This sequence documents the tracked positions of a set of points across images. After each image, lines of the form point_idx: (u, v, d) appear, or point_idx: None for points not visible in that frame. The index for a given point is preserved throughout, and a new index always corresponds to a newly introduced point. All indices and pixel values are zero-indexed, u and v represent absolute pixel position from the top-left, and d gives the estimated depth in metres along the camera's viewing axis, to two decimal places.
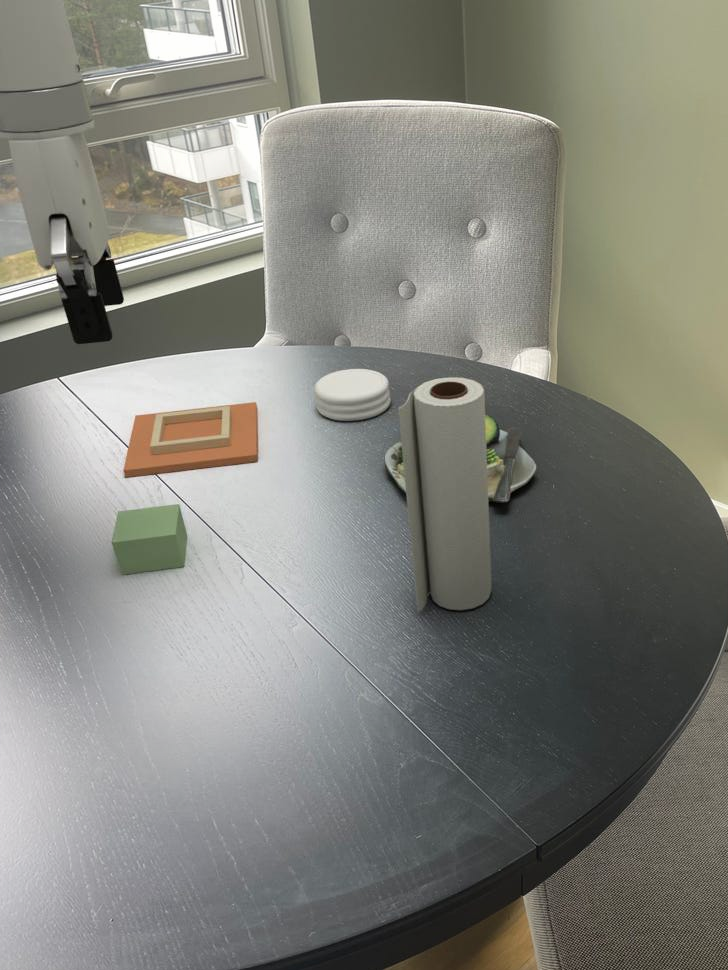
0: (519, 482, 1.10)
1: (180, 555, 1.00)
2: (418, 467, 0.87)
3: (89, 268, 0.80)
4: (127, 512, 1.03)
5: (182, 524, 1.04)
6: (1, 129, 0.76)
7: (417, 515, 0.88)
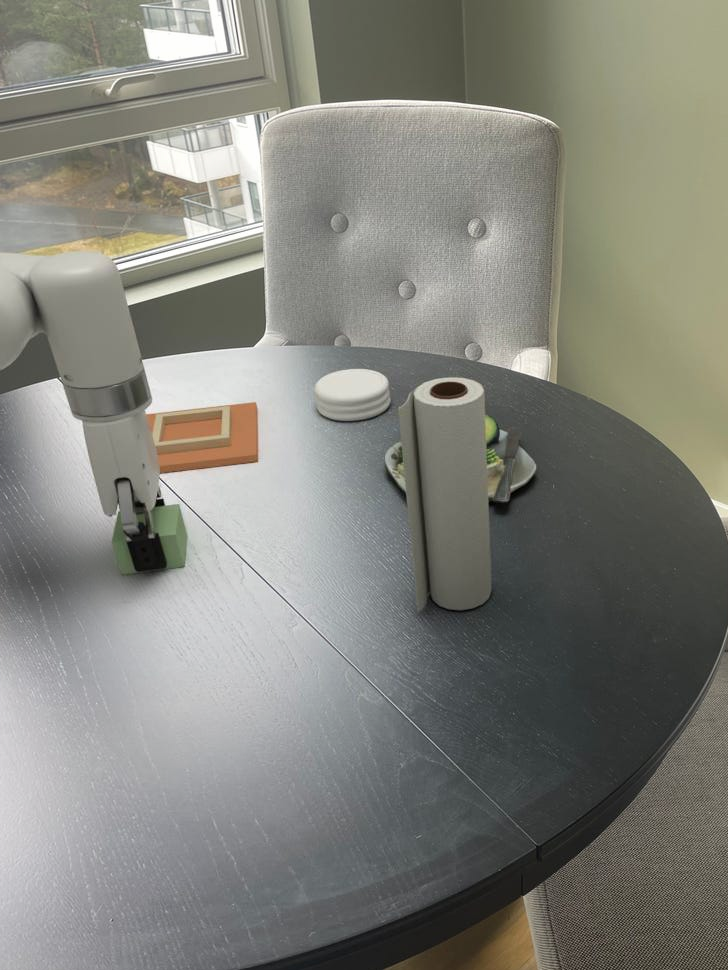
0: (519, 482, 1.10)
1: (180, 555, 1.00)
2: (418, 467, 0.87)
3: (149, 518, 0.96)
4: None
5: (182, 524, 1.04)
6: (76, 412, 0.90)
7: (417, 515, 0.88)
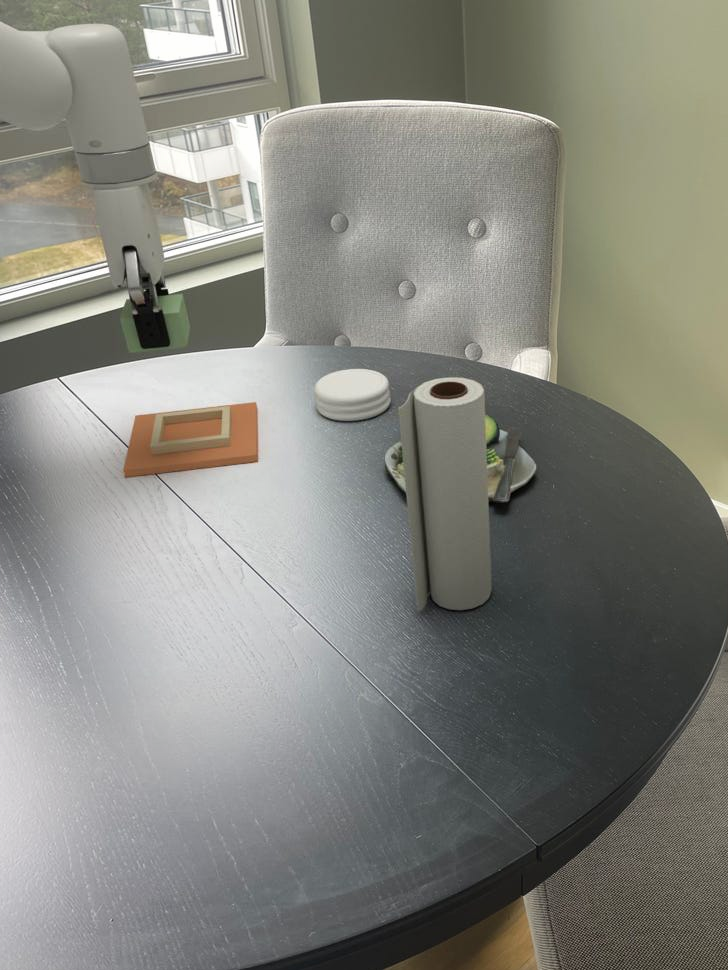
0: (519, 482, 1.10)
1: (183, 335, 1.09)
2: (418, 467, 0.87)
3: (153, 291, 1.04)
4: None
5: (185, 313, 1.12)
6: (87, 181, 0.98)
7: (417, 515, 0.88)
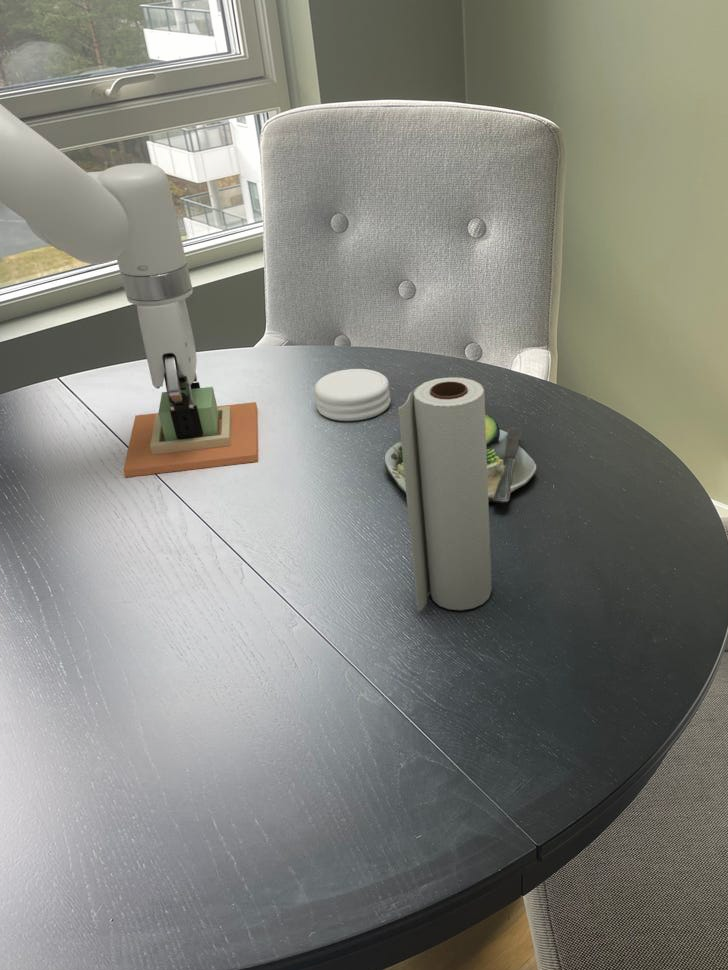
0: (519, 482, 1.10)
1: (214, 426, 1.21)
2: (418, 467, 0.87)
3: (189, 390, 1.17)
4: None
5: (215, 404, 1.24)
6: (132, 298, 1.11)
7: (417, 515, 0.88)
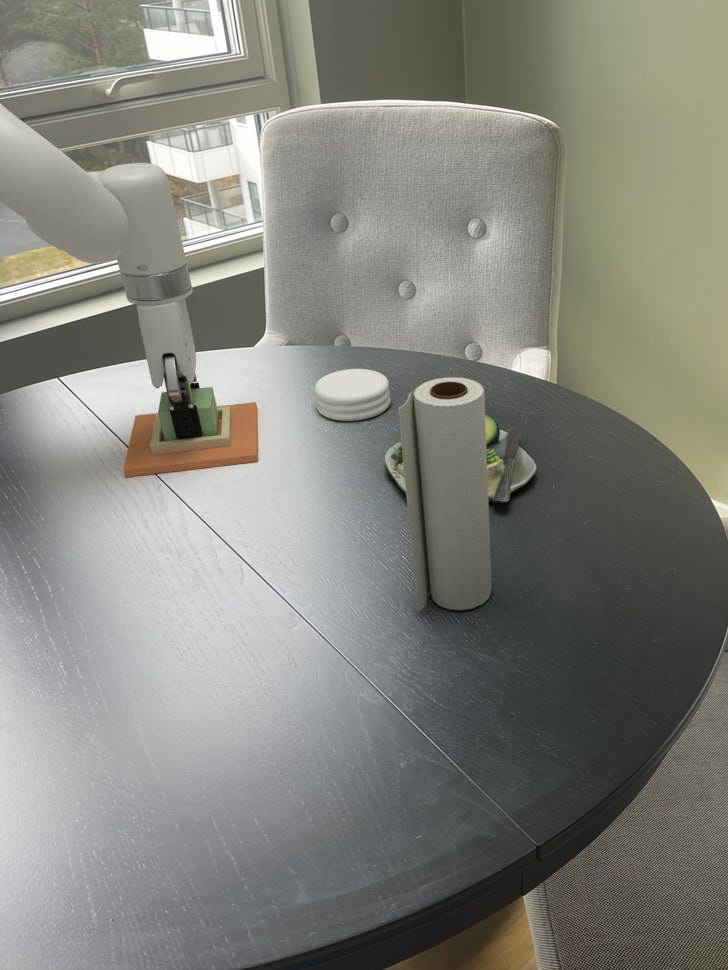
0: (519, 482, 1.10)
1: (214, 426, 1.21)
2: (418, 467, 0.87)
3: (189, 390, 1.17)
4: None
5: (215, 404, 1.24)
6: (131, 297, 1.11)
7: (417, 515, 0.88)
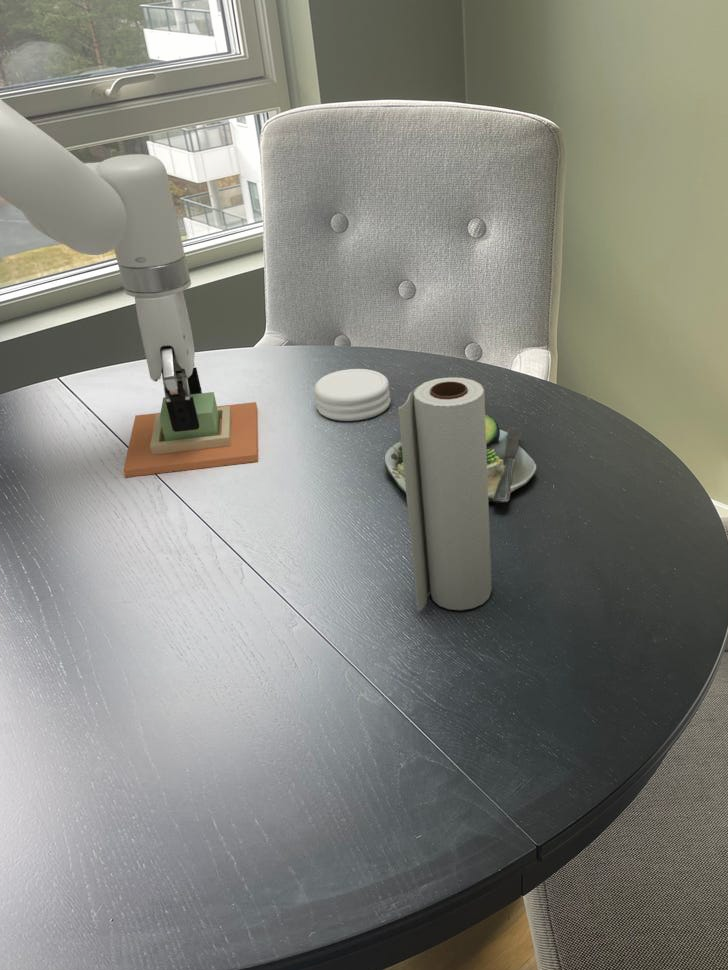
0: (519, 482, 1.10)
1: (215, 431, 1.21)
2: (418, 467, 0.87)
3: (186, 381, 1.15)
4: None
5: (216, 409, 1.25)
6: (129, 290, 1.10)
7: (417, 515, 0.88)
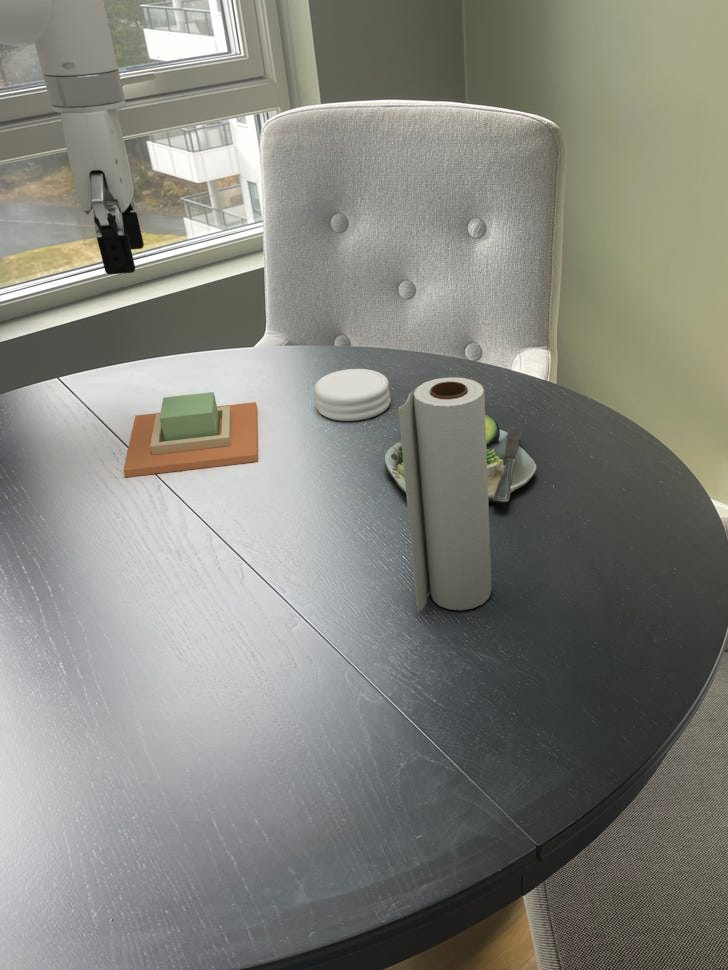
0: (519, 482, 1.10)
1: (215, 431, 1.21)
2: (418, 467, 0.87)
3: (119, 214, 1.04)
4: (171, 397, 1.24)
5: (216, 409, 1.25)
6: (55, 104, 1.00)
7: (417, 515, 0.88)
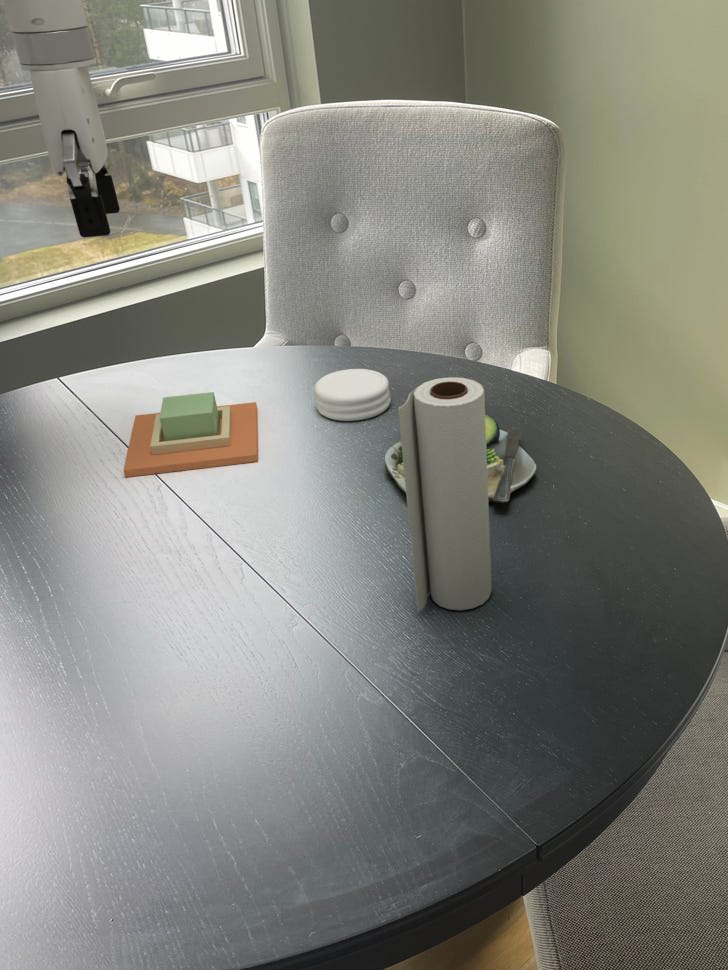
0: (519, 482, 1.10)
1: (215, 431, 1.21)
2: (418, 467, 0.87)
3: (92, 174, 1.03)
4: (171, 397, 1.24)
5: (216, 409, 1.25)
6: (24, 63, 0.98)
7: (417, 515, 0.88)
